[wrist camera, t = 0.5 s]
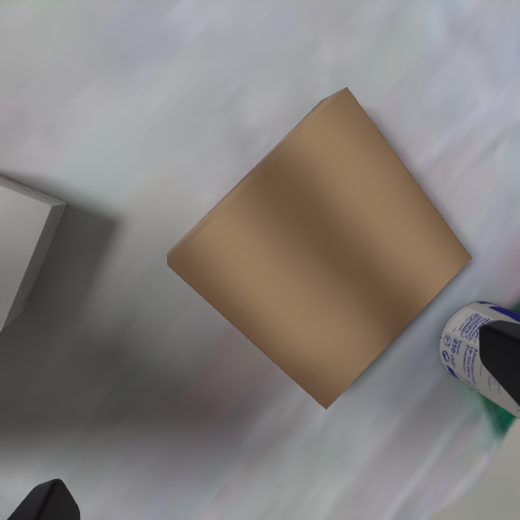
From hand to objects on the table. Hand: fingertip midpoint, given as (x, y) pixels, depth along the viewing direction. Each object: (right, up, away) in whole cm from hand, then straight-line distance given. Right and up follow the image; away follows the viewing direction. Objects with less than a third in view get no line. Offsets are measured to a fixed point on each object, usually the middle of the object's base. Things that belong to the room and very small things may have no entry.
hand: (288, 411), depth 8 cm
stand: (+3, +4, +15) cm, 15 cm away
